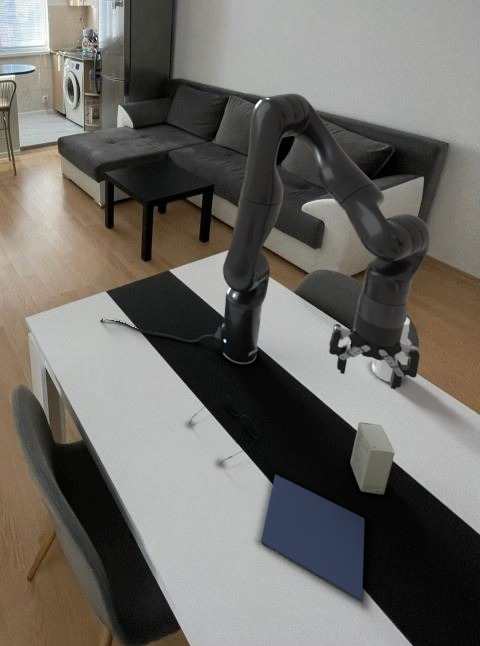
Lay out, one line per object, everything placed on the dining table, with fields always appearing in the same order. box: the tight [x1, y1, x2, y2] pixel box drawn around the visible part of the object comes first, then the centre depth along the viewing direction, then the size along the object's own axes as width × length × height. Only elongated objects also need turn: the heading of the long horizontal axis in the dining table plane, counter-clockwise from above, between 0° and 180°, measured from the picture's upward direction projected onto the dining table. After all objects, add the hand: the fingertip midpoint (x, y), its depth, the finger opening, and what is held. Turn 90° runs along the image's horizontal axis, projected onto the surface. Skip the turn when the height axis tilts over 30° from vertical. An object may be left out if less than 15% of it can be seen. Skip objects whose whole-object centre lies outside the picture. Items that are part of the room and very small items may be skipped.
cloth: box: [260, 474, 366, 602], centre depth 81 cm, size 16×14×1 cm
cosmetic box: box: [349, 421, 396, 495], centre depth 87 cm, size 6×4×12 cm
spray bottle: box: [371, 316, 412, 383], centre depth 109 cm, size 7×7×18 cm
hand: (366, 378), depth 86 cm, fingers open, 8 cm apart
